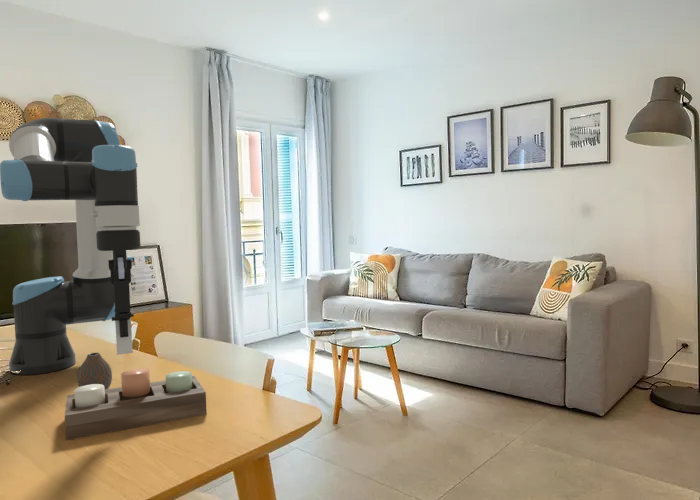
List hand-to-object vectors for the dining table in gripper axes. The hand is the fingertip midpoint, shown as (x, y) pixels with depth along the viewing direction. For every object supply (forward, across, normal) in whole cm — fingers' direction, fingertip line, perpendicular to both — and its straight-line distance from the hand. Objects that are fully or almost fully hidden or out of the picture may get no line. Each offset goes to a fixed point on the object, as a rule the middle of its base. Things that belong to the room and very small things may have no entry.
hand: (124, 352), depth 100 cm
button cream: (+10, 0, -6) cm, 12 cm away
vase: (+13, -20, -6) cm, 25 cm away
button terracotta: (+8, 0, +2) cm, 8 cm away
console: (+13, 0, +2) cm, 13 cm away
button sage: (+10, -1, +10) cm, 14 cm away
